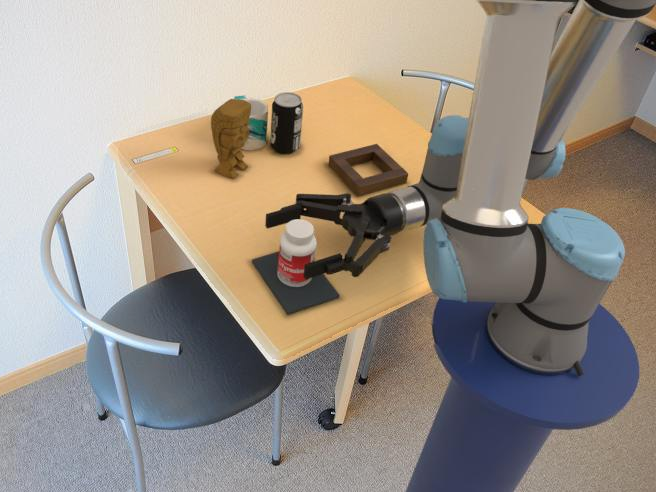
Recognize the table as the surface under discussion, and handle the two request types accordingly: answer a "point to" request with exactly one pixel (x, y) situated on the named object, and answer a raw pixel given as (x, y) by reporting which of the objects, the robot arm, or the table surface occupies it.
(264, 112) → the mug
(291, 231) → the pill bottle
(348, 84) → the table surface
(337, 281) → the table surface
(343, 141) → the table surface
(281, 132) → the beverage can
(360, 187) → the holder
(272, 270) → the mat
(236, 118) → the figurine
